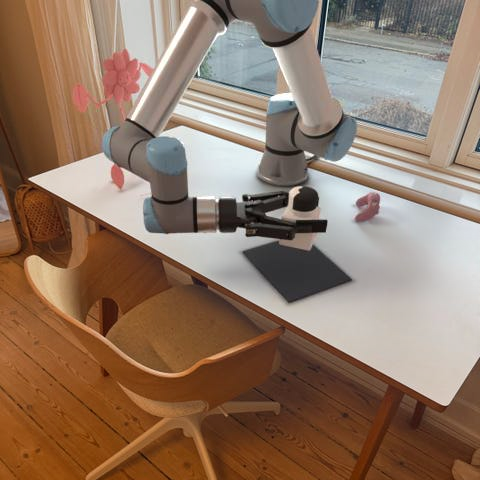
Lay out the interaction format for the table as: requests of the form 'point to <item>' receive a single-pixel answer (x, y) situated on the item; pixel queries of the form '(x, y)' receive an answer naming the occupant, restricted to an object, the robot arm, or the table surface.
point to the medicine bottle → (301, 215)
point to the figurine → (115, 91)
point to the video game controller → (368, 206)
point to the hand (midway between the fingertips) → (322, 213)
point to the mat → (296, 269)
